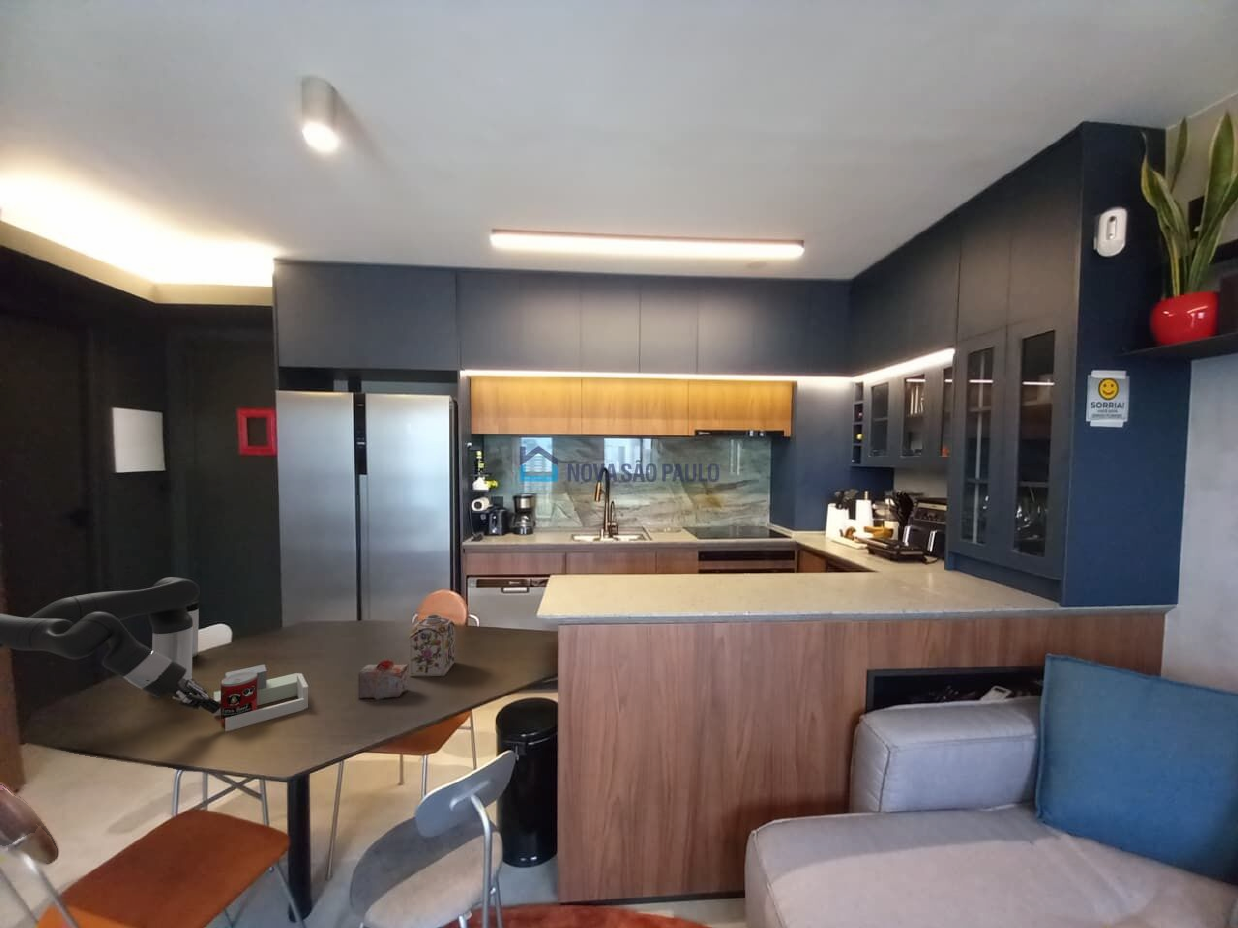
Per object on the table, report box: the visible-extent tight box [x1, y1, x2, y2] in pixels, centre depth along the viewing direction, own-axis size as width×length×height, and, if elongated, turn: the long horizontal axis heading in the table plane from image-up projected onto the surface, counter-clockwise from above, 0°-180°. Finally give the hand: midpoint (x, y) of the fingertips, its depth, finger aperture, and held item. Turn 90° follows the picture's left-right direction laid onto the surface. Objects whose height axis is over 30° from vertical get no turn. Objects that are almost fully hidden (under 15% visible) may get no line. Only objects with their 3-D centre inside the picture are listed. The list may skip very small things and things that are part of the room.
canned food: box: [219, 672, 258, 726], centre depth 129 cm, size 8×8×11 cm
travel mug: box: [186, 599, 200, 658], centre depth 172 cm, size 6×7×20 cm
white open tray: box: [213, 664, 309, 732], centre depth 135 cm, size 20×19×9 cm
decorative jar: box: [409, 613, 456, 677], centre depth 161 cm, size 12×12×18 cm
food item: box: [357, 659, 410, 700], centre depth 143 cm, size 14×8×10 cm, turn 94°
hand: (217, 709), depth 125 cm, fingers closed
